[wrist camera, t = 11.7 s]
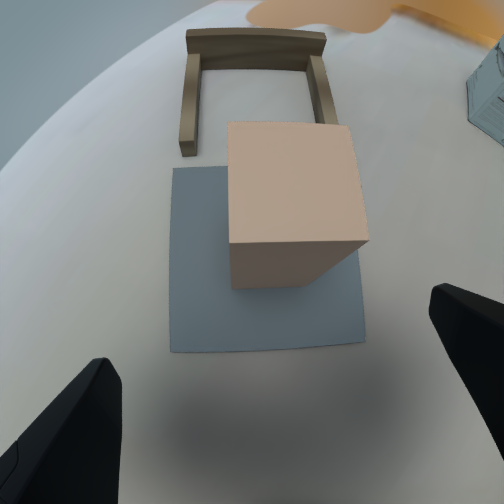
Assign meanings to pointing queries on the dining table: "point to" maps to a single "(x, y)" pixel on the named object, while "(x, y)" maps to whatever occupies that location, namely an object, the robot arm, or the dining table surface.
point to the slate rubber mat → (245, 300)
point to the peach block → (291, 202)
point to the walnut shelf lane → (252, 67)
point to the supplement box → (488, 94)
